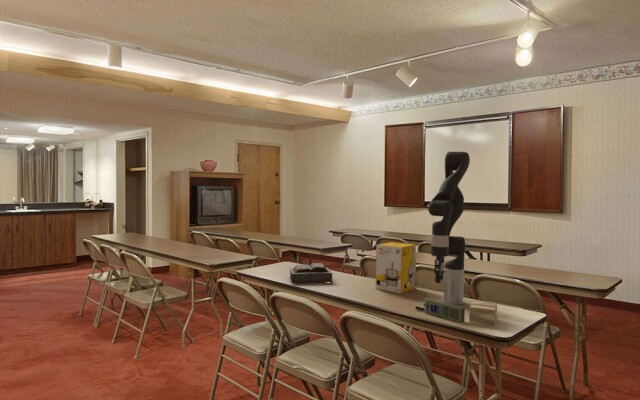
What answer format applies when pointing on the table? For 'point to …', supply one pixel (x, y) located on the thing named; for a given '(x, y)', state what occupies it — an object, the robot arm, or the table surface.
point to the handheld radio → (443, 310)
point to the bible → (310, 274)
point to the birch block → (483, 313)
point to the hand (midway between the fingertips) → (439, 281)
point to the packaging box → (395, 267)
